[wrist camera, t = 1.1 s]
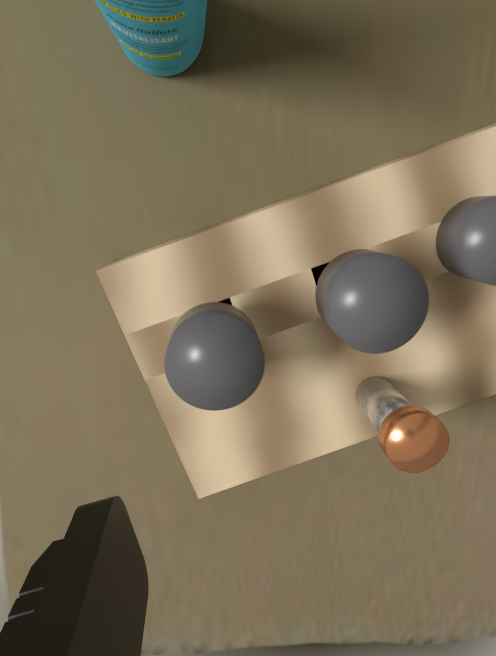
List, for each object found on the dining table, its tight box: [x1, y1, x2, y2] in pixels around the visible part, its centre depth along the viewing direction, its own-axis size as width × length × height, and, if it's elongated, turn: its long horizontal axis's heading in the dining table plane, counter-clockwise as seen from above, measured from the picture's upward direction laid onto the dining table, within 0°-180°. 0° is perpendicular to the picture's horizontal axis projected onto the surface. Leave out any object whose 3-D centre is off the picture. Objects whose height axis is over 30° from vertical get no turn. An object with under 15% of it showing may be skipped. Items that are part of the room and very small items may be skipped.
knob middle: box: [315, 249, 429, 354], centre depth 23 cm, size 5×5×7 cm
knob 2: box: [436, 196, 496, 286], centre depth 26 cm, size 5×5×7 cm
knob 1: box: [164, 302, 265, 411], centre depth 23 cm, size 5×5×7 cm
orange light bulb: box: [355, 376, 449, 473], centre depth 25 cm, size 3×3×6 cm
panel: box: [96, 123, 496, 499], centre depth 28 cm, size 26×16×4 cm, turn 109°
